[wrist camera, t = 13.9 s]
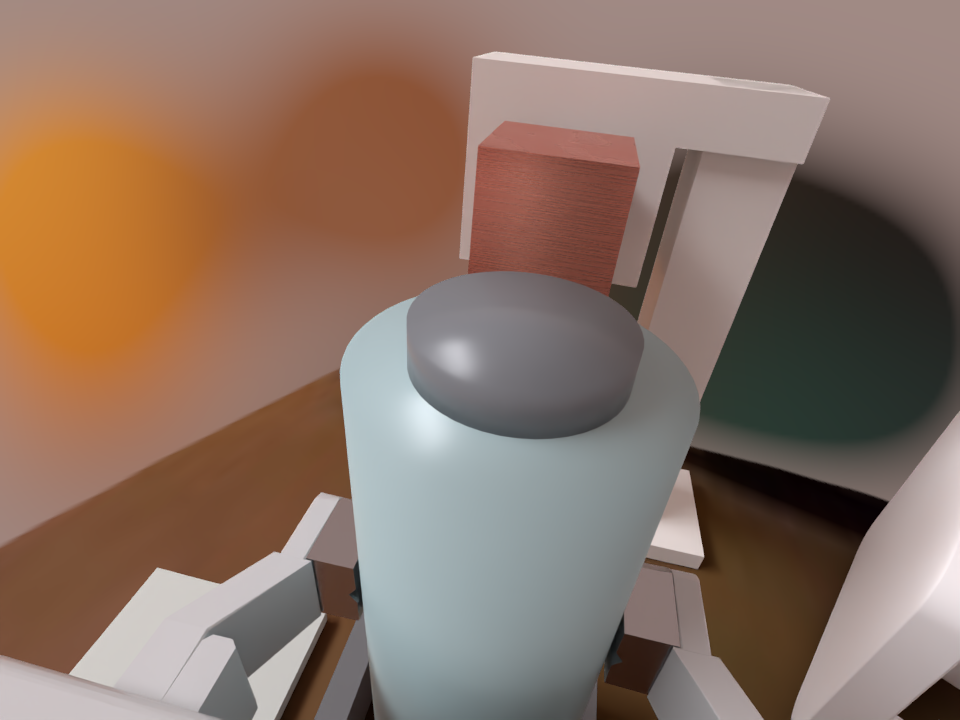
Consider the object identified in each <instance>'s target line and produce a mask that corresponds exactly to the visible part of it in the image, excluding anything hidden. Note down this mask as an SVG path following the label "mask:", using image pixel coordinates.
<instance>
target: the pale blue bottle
mask: <svg viewBox="0 0 960 720" xmlns="http://www.w3.org/2000/svg"><path fill="white" fill-rule="evenodd" d="M340 383H341V394H342V404H343V414H344V423H345V433H346V443H347V453H348V463H349V472H350V482H351V492H352V502H353V512H354V521H355V531H356V541H357V551H358V561H359V570H360V580H361V590H362V600H363V610H364V619H365V629H366V639H367V649H368V658H369V668H370V678H371V688H372V698H373V707H374V717H375V720H581V719H582V716H583V714H584V711H585V709H586V706H587V704H588V701H589V699H590V696H591V694H592V691H593V689H594V686H595V684H596V681H597V679H598V676H599V674H600V671H601V669H602V666H603V664H604V661H605V658H606V656H607V653H608V651H609V648H610V646H611V643H612V641H613V638H614V636H615V633H616V631H617V628H618V626H619V623H620V621H621V618H622V616H623V613H624V611H625V608H626V606H627V603H628V601H629V598H630V595H631V593H632V590H633V588H634V585H635V583H636V580H637V578H638V575H639V573H640V570H641V568H642V565H643V563H644V560H645V558H646V555H647V553H648V550H649V548H650V545H651V543H652V540H653V538H654V535H655V532H656V530H657V527H658V525H659V522H660V520H661V517H662V515H663V512H664V510H665V507H666V505H667V502H668V500H669V497H670V495H671V492H672V490H673V487H674V485H675V482H676V480H677V477H678V475H679V472H680V469H681V467H682V464H683V462H684V459H685V457H686V454H687V452H688V449H689V447H690V444H691V442H692V439H693V436H694V434H695V431H696V429H697V426H698V423H699V415H700V401H699V394H698V391H697V388H696V385H695V382H694V380H693V378H692V376H691V374H690V372H689V371H688V369H687V367H686V366H685V365H684V363H683V362H682V361H681V359H680V358H679V357H678V355H677V354H676V353H675V352H674V351H673V350H672V349H671V348H670V347H669V346H668V345H667V344H666V343H664V342H663V341H662V340H661V339H659V338H658V337H657V336H656V335H654V334H653V333H652V332H650V331H649V330H647V329H646V328H644V327H643V326H641V325H640V324H638V323H637V321H636V320H635V319H634V317H633V316H632V315H631V314H630V313H629V312H628V311H627V310H626V309H625V308H623V307H622V306H621V305H620V304H618V303H617V302H615V301H614V300H612V299H611V298H609V297H607V296H606V295H604V294H602V293H600V292H598V291H596V290H593V289H591V288H589V287H586V286H584V285H581V284H578V283H575V282H572V281H569V280H565V279H561V278H557V277H553V276H548V275H542V274H536V273H527V272H514V271H493V272H480V273H473V274H467V275H462V276H458V277H454V278H451V279H448V280H445V281H442V282H440V283H437V284H435V285H433V286H431V287H430V288H428V289H426V290H425V291H423V292H422V293H421V294H420V295H419V296H417V297H414V298H412V299H408V300H406V301H403V302H401V303H399V304H396V305H395V306H392V307H390V308H388V309H386V310H385V311H383V312H381V313H380V314H378V315H376V316H375V317H374V318H372V319H371V320H370V321H369V322H367V323H366V324H365V325H364V326H363V327H362V328H361V329H360V330H359V331H358V332H357V333H356V334H355V336H354V337H353V339H352V340H351V341H350V343H349V344H348V346H347V348H346V351H345V353H344V356H343V358H342V363H341V368H340Z"/></svg>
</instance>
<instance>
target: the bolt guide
mask: <svg viewBox="0 0 960 720" xmlns="http://www.w3.org/2000/svg"><path fill="white" fill-rule="evenodd" d="M829 101H830V98H828V97H825V96H822V95H819V94H816V93H813V92H810V91H808V90H805V89H802V88H799V87H796V86H793V85H787V84H778V83H769V82H760V81H751V80H742V79H733V78H725V77H715V76H707V75H697V74H688V73H679V72H671V71H662V70H653V69H644V68H636V67H627V66H618V65H609V64H601V63H591V62H583V61H574V60H565V59H556V58H547V57H538V56H530V55H521V54H512V53H503V52H492V53H488V54H484V55H480V56H477V57H473V62H472V78H471V92H470V107H469V123H468V138H467V152H466V168H465V182H464V196H463V211H462V226H461V241H460V242H461V243H460V256H459V258H460V259H467V260H469V255H470V242H471V230H472V217H473V204H474V191H475V179H476V166H477V153H478V145H479V144H480V143H481V142H482V141H484V140H485V139H486V138H487V137H488V136H489V135H490V134H491V133H492V132H493V131H494V130H495V129H496V128H497V127H499V126H500V125H501V124H502V123H503V122H504V121H511V122H519V123H527V124H534V125H542V126H550V127H558V128H565V129H573V130H581V131H589V132H596V133H604V134H612V135H619V136H627V137H634V140H635V144H636V149H637V154H638V159H639V164H640V171H639V175H638V179H637V183H636V187H635V191H634V195H633V199H632V203H631V207H630V211H629V215H628V219H627V223H626V227H625V231H624V235H623V239H622V243H621V247H620V251H619V255H618V259H617V263H616V267H615V271H614V275H613V279H612V284H618V285H624V286H631V287H637V283H638V279H639V276H640V272H641V269H642V265H643V262H644V258H645V254H646V251H647V247H648V244H649V240H650V237H651V233H652V229H653V226H654V222H655V219H656V215H657V212H658V208H659V204H660V201H661V197H662V194H663V190H664V186H665V183H666V179H667V176H668V172H669V168H670V165H671V161H672V158H673V154H674V151H675V148H683V149H688V151H687V154H686V158H685V161H684V165H683V168H682V171H681V175H680V178H679V182H678V185H677V189H676V192H675V195H674V199H673V202H672V206H671V209H670V213H669V216H668V220H667V223H666V226H665V229H664V233H663V236H662V240H661V243H660V247H659V250H658V253H657V257H656V260H655V264H654V268H653V271H652V274H651V278H650V281H649V284H648V288H647V291H646V295H645V298H644V302H643V305H642V308H641V312H640V315H639V319H638V322H637V323H638V324H640V325H641V326H643V327H644V328H646V329H647V330H649V331H650V332H652V333H653V334H654V335H656V336H657V337H658V338H659V339H661V340H662V341H663V342H664V343H666V344H667V345H668V346H669V347H670V348H671V349H672V350H673V351H674V352H675V353H676V354H677V355H678V357H679V358H680V359H681V361H682V362H683V363H684V365H685V366H686V367H687V369H688V371H689V372H690V374H691V376H692V378H693V380H694V382H695V385H696V388H697V391H698V394H699V401H700V400H701V398H702V395H703V393H704V390H705V388H706V385H707V383H708V380H709V378H710V376H711V373H712V371H713V369H714V366H715V364H716V361H717V359H718V356H719V354H720V351H721V349H722V347H723V344H724V342H725V339H726V337H727V334H728V332H729V329H730V327H731V325H732V322H733V320H734V317H735V315H736V312H737V310H738V307H739V305H740V303H741V300H742V298H743V295H744V293H745V290H746V288H747V286H748V283H749V280H750V278H751V276H752V273H753V271H754V268H755V266H756V264H757V261H758V258H759V256H760V254H761V251H762V249H763V246H764V244H765V241H766V239H767V237H768V234H769V231H770V229H771V227H772V224H773V222H774V219H775V217H776V215H777V212H778V210H779V207H780V205H781V203H782V200H783V197H784V195H785V193H786V190H787V188H788V185H789V183H790V181H791V178H792V176H793V173H794V171H795V168H796V166H797V163H798V164H803V163H804V161H805V158H806V156H807V154H808V152H809V149H810V147H811V144H812V142H813V140H814V137H815V134H816V132H817V130H818V127H819V125H820V123H821V120H822V118H823V115H824V113H825V111H826V108H827V106H828V103H829ZM646 558H650V559H655V560H659V561H664V562H668V563H672V564H677V565H681V566H686V567H690V568H694V569H698V568H699V566H700V564H701V562H702V561H703V559H704V552H703V547H702V541H701V535H700V529H699V524H698V518H697V512H696V507H695V501H694V495H693V490H692V484H691V478H690V472H689V471H688V470H683V469H680V472H679V475H678V477H677V480H676V482H675V485H674V487H673V490H672V492H671V495H670V497H669V500H668V502H667V505H666V507H665V510H664V512H663V515H662V517H661V520H660V522H659V525H658V527H657V530H656V532H655V535H654V538H653V540H652V543H651V545H650V548H649V550H648V553H647V555H646Z"/></svg>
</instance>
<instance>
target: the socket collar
mask: <svg viewBox="0 0 960 720" xmlns="http://www.w3.org/2000/svg"><path fill="white" fill-rule="evenodd" d="M371 700H372V688H371V678H370V668H369V658H368V649H367V639H366V629H365V619H364V611H363V613H362V616H361V618H360V620H359V621H358V620H356V622H355V624H354V627H353V629H352V632H351V634H350V636H349V639H348V641H347V643H346V646H345V648H344V650H343V653H342V655H341V657H340V660H339V662H338V665H337V667H336V669H335V672H334V674H333V676H332V679H331V681H330V683H329V686H328V688H327V690H326V693H325V695H324V697H323V700H322V702H321V705H320V707H319V709H318V712H317V714H316V716H315V719H314V720H365V717H366V714H367V711H368V709H369V706H370V703H371ZM596 713H597V681H596V684H595V686H594V689H593V691H592V694H591V696H590V699H589V701H588V704H587V706H586V709H585V711H584V714H583V716H582V719H581V720H596Z"/></svg>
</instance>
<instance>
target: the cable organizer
mask: <svg viewBox="0 0 960 720" xmlns="http://www.w3.org/2000/svg"><path fill="white" fill-rule="evenodd" d="M941 678H942V679H944V680H946V681H947V682H949V683H950V684H952V685H953V686H955V687H956V688H958V689H960V411H959V413H958V414H957V415H956V417H955V418H954V419H953V420H952V422H951V423H950V424H949V426H948V427H947V428H946V430H945V431H944V432H943V433H942V435H941V436H940V437H939V439H938V440H937V441H936V442H935V444H934V445H933V446H932V448H931V449H930V450H929V451H928V453H927V454H926V455H925V457H924V458H923V459H922V461H921V462H920V463H919V464H918V466H917V467H916V468H915V470H914V471H913V472H912V474H911V475H910V476H909V477H908V479H907V480H906V481H905V483H904V484H903V485H902V486H901V488H900V489H899V490H898V492H897V493H896V494H895V495H894V497H893V498H892V499H891V501H890V502H889V503H888V504H887V506H886V507H885V508H884V510H883V511H882V512H881V513H880V515H879V516H878V517H877V519H876V520H875V521H874V523H873V524H872V526H871V527H870V529H869V530H868V532H867V533H866V535H865V537H864V539H863V540H862V542H861V544H860V546H859V548H858V551H857V553H856V555H855V558H854V560H853V563H852V565H851V568H850V570H849V572H848V575H847V577H846V580H845V582H844V585H843V587H842V589H841V592H840V594H839V597H838V599H837V602H836V604H835V606H834V609H833V611H832V614H831V616H830V619H829V621H828V623H827V626H826V628H825V631H824V633H823V636H822V638H821V640H820V643H819V645H818V648H817V650H816V653H815V655H814V657H813V660H812V662H811V665H810V667H809V670H808V672H807V674H806V677H805V679H804V682H803V684H802V687H801V689H800V691H799V694H798V696H797V699H796V702H795V705H794V708H793V712H792V716H791V720H903V719H902V718H900V717H899V716H897V715H898V714H899V713H900V712H901V711H903V710H904V709H905V708H906V707H907V706H908V705H910V704H911V703H912V702H913V701H914V700H916V699H917V698H918V697H919V696H920V695H922V694H923V693H924V692H925V691H926V690H927V689H929V688H930V687H931V686H932V685H933V684H935V683H936V682H937V681H938V680H939V679H941ZM939 720H940V719H939Z"/></svg>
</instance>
